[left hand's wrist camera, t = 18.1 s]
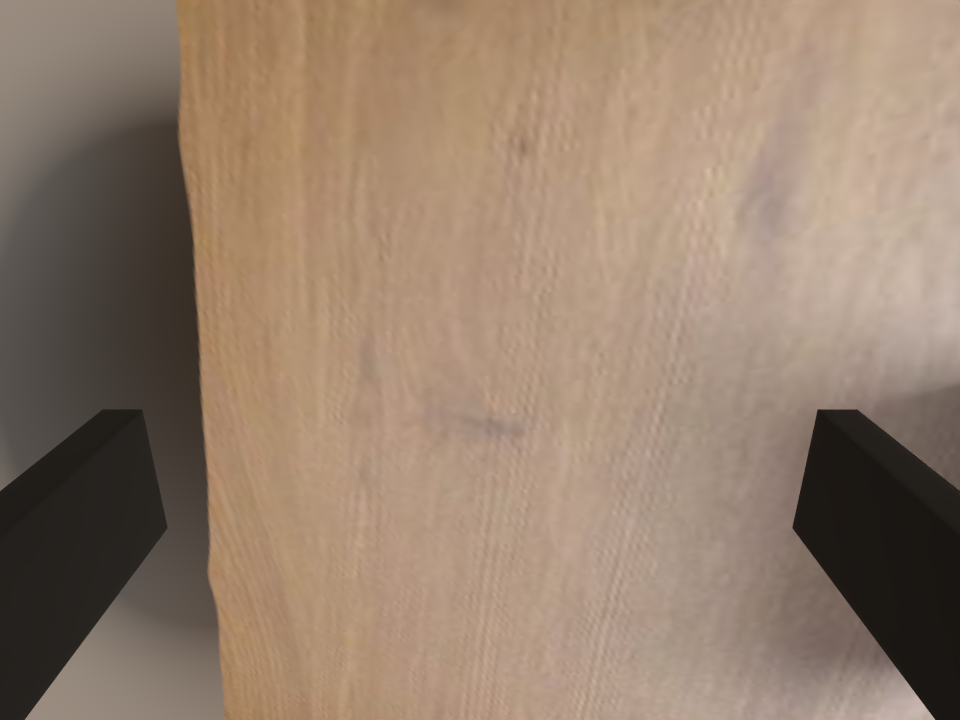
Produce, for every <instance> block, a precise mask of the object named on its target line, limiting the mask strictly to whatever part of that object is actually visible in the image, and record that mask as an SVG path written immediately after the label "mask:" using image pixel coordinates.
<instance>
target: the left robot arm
mask: <svg viewBox="0 0 960 720" xmlns="http://www.w3.org/2000/svg"><path fill="white" fill-rule="evenodd" d="M166 529H167V523H166V519H165V514H164V509H163V504H162V500H161V495H160V490H159V486H158V481H157V476H156V472H155V467H154V462H153V458H152V453H151V448H150V444H149V439H148V434H147V430H146V425H145V420H144V416H143V411H142V410H102V411H100V412H99V413H98V414H97V415H95V416H94V417H93V418H92V419H90V420H89V421H88V422H87V423H85V424H84V425H83V426H82V427H80V428H79V429H78V430H77V431H75V432H74V433H73V434H72V435H70V436H69V437H68V438H66V439H65V440H64V441H63V442H61V443H60V444H59V445H58V446H56V447H55V448H54V449H53V450H51V451H50V452H49V453H48V454H46V455H45V456H44V457H43V458H41V459H40V460H39V461H38V462H36V463H35V464H34V465H33V466H31V467H30V468H29V469H28V470H26V471H25V472H24V473H23V474H21V475H20V476H19V477H18V478H16V479H15V480H14V481H12V482H11V483H10V484H9V485H8V486H6V487H5V488H4V489H2V490H1V491H0V720H25V718H26V717H27V716H28V714H29V713H30V712H31V710H32V709H33V708H34V706H35V705H36V704H37V702H38V701H39V700H40V698H41V697H42V696H43V694H44V693H45V692H46V690H47V689H48V688H49V686H50V685H51V684H52V682H53V681H54V680H55V678H56V677H57V676H58V674H59V673H60V672H61V670H62V669H63V667H64V666H65V665H66V664H67V662H68V661H69V660H70V658H71V657H72V655H73V654H74V653H75V651H76V650H77V649H78V647H79V646H80V645H81V643H82V642H83V641H84V639H85V638H86V637H87V635H88V634H89V633H90V631H91V630H92V629H93V627H94V626H95V625H96V623H97V622H98V621H99V619H100V618H101V617H102V615H103V614H104V613H105V611H106V610H107V609H108V607H109V606H110V605H111V603H112V602H113V600H114V599H115V598H116V596H117V595H118V594H119V592H120V591H121V590H122V588H123V587H124V586H125V584H126V583H127V582H128V580H129V579H130V578H131V576H132V575H133V574H134V572H135V571H136V570H137V568H138V567H139V566H140V564H141V563H142V562H143V560H144V559H145V558H146V556H147V555H148V554H149V552H150V551H151V550H152V548H153V547H154V546H155V544H156V543H157V541H158V540H159V539H160V538H161V536H162V535H163V533H164V532H165V531H166ZM793 529H794V531H795V532H796V533H797V535H798V536H799V538H800V539H801V540H802V542H803V543H804V544H805V546H806V547H807V548H808V550H809V551H810V552H811V554H812V555H813V556H814V558H815V559H816V560H817V562H818V563H819V564H820V566H821V567H822V568H823V570H824V571H825V572H826V574H827V575H828V576H829V578H830V579H831V580H832V582H833V583H834V584H835V586H836V587H837V588H838V590H839V591H840V592H841V594H842V595H843V596H844V598H845V599H846V601H847V602H848V603H849V605H850V606H851V607H852V609H853V610H854V611H855V613H856V614H857V615H858V617H859V618H860V619H861V621H862V622H863V623H864V625H865V626H866V627H867V629H868V630H869V631H870V633H871V634H872V635H873V637H874V638H875V639H876V641H877V642H878V643H879V645H880V646H881V647H882V649H883V650H884V651H885V653H886V654H887V655H888V657H889V658H890V660H891V661H892V662H893V664H894V665H895V666H896V668H897V669H898V670H899V672H900V673H901V674H902V676H903V677H904V678H905V680H906V681H907V682H908V684H909V685H910V686H911V688H912V689H913V690H914V692H915V693H916V694H917V696H918V697H919V698H920V700H921V701H922V702H923V704H924V705H925V706H926V708H927V709H928V710H929V712H930V713H931V714H932V716H933V717H934V718H935V720H960V491H959V490H958V489H956V488H955V487H954V486H953V485H951V484H950V483H949V482H948V481H946V480H945V479H944V478H942V477H941V476H940V475H939V474H937V473H936V472H935V471H934V470H932V469H931V468H930V467H929V466H927V465H926V464H925V463H924V462H922V461H921V460H920V459H919V458H917V457H916V456H915V455H914V454H912V453H911V452H910V451H909V450H907V449H906V448H905V447H904V446H902V445H901V444H900V443H899V442H897V441H896V440H895V439H894V438H892V437H891V436H890V435H888V434H887V433H886V432H885V431H883V430H882V429H881V428H880V427H878V426H877V425H876V424H875V423H873V422H872V421H871V420H870V419H868V418H867V417H866V416H865V415H863V414H862V413H861V412H860V411H858V410H818V411H817V416H816V420H815V425H814V430H813V434H812V439H811V444H810V448H809V453H808V458H807V462H806V467H805V472H804V476H803V481H802V486H801V490H800V495H799V500H798V504H797V509H796V514H795V518H794V523H793Z"/></svg>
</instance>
